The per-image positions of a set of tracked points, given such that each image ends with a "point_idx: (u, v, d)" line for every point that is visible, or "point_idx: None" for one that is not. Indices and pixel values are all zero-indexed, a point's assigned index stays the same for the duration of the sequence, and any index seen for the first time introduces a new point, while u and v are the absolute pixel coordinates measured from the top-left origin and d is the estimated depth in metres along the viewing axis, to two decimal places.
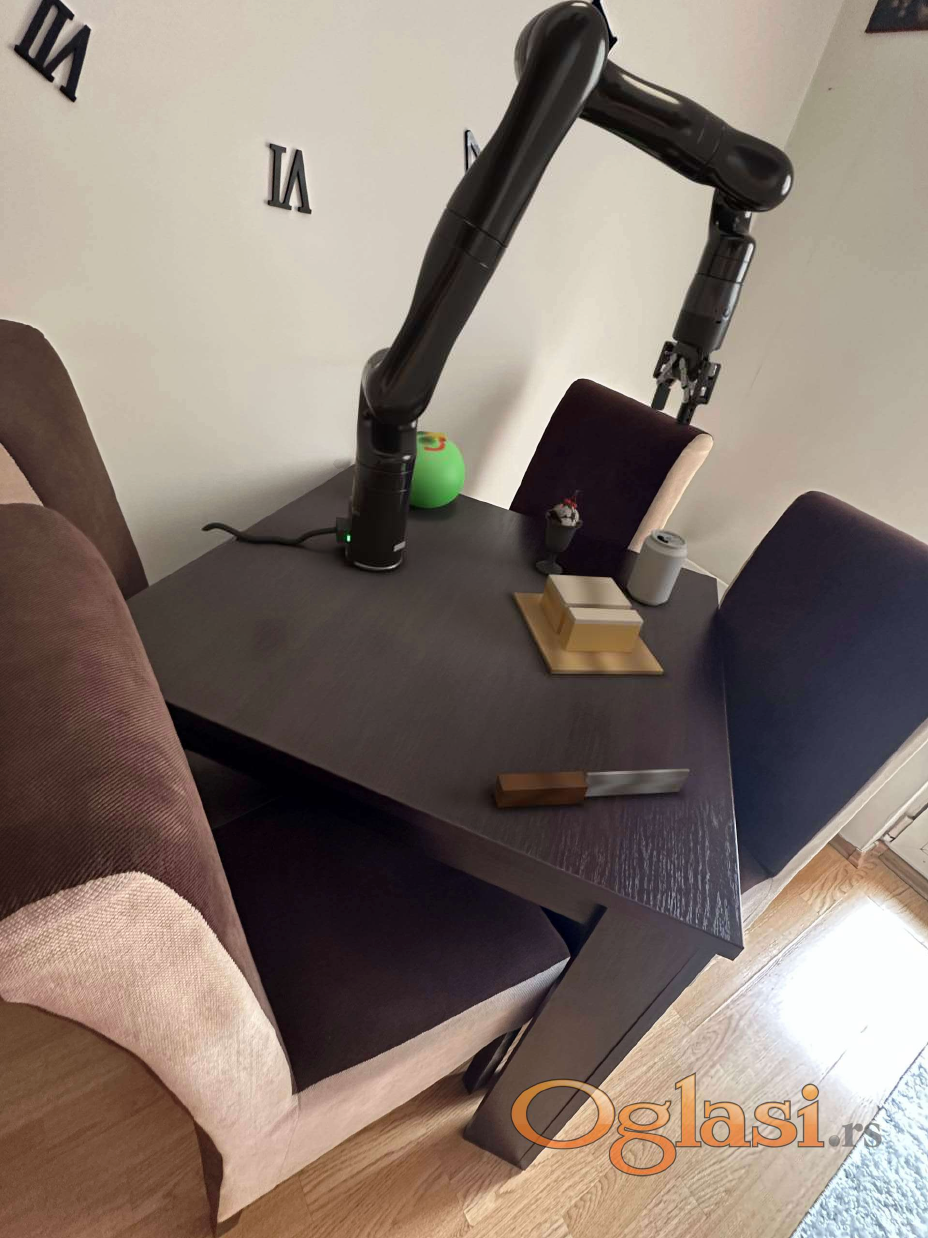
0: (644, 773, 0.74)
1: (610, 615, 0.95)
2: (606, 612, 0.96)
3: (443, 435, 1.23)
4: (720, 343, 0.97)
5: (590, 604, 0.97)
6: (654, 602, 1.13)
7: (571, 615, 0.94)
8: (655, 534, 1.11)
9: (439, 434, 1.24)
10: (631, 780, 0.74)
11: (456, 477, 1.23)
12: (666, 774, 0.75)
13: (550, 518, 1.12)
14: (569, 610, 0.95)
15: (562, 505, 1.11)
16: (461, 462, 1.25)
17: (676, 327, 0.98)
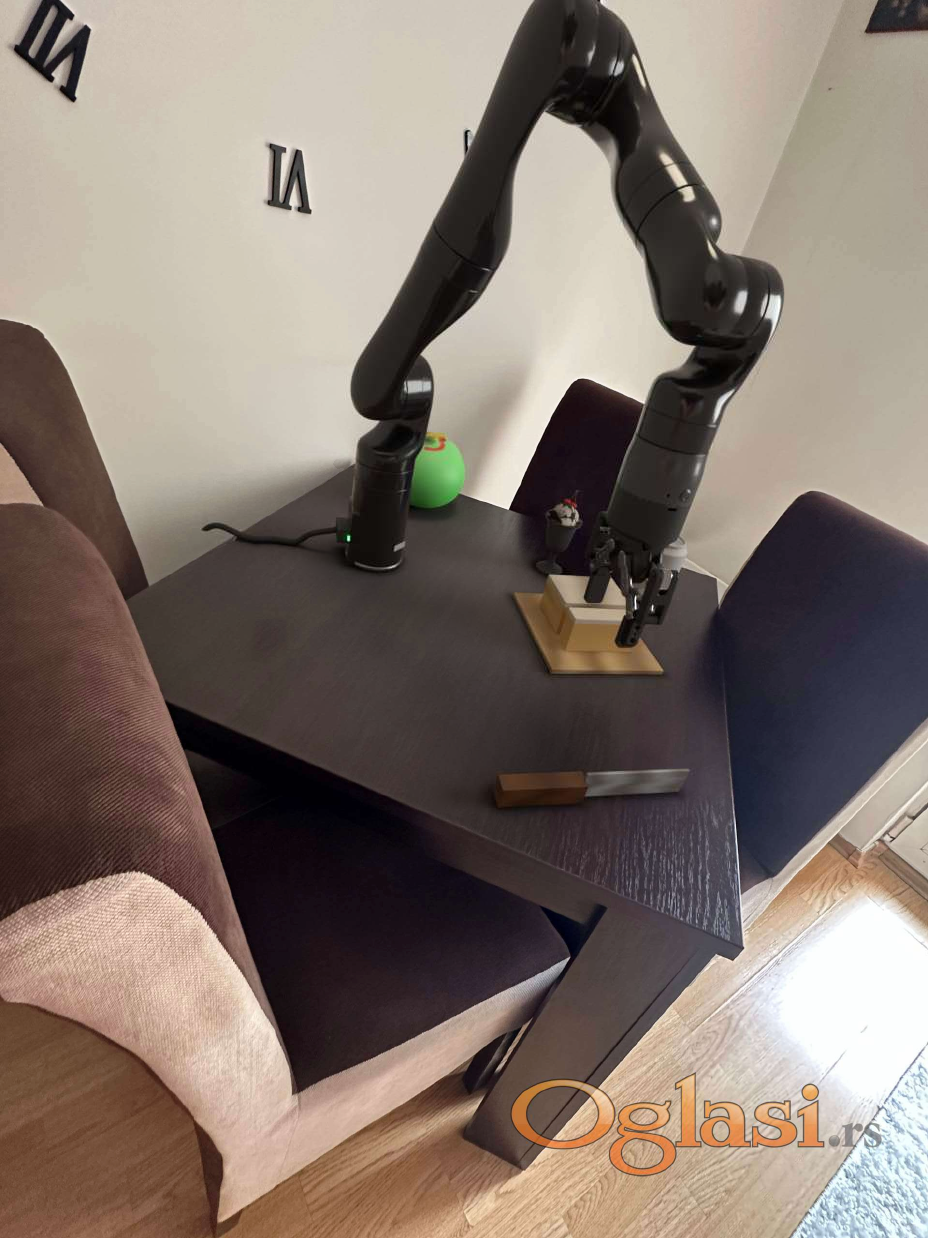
0: (644, 773, 0.74)
1: (610, 615, 0.95)
2: (606, 612, 0.96)
3: (443, 435, 1.23)
4: (678, 534, 0.63)
5: (590, 604, 0.97)
6: None
7: (571, 615, 0.94)
8: None
9: (439, 434, 1.24)
10: (631, 780, 0.74)
11: (456, 477, 1.23)
12: (666, 774, 0.75)
13: (550, 518, 1.12)
14: (569, 610, 0.95)
15: (562, 505, 1.11)
16: (461, 462, 1.25)
17: (610, 508, 0.64)
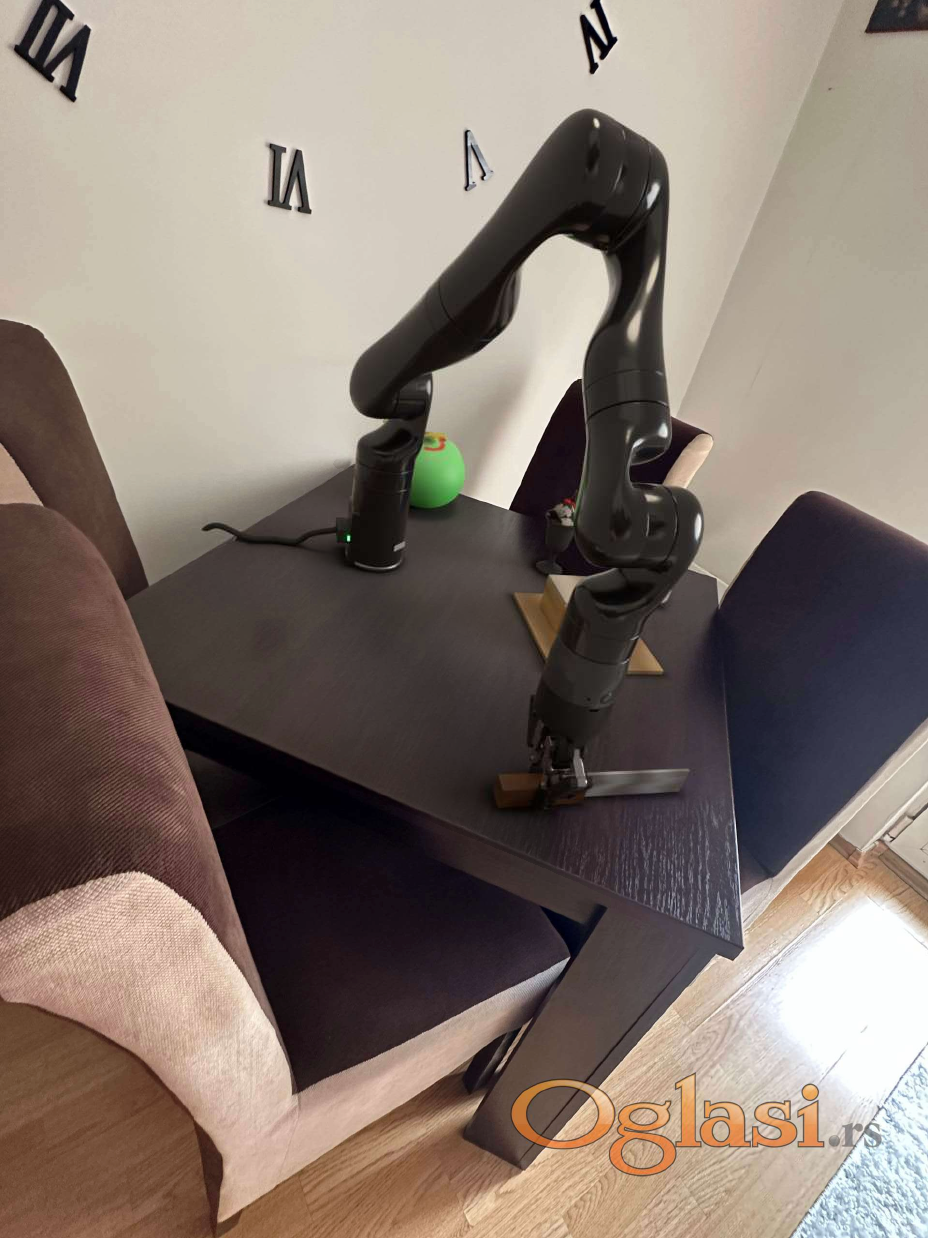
0: (644, 773, 0.74)
1: None
2: None
3: (443, 435, 1.23)
4: (602, 727, 0.63)
5: None
6: None
7: None
8: None
9: (439, 434, 1.24)
10: (631, 780, 0.74)
11: (456, 477, 1.23)
12: (666, 774, 0.75)
13: (550, 518, 1.12)
14: None
15: (562, 505, 1.11)
16: (461, 462, 1.25)
17: (537, 697, 0.64)
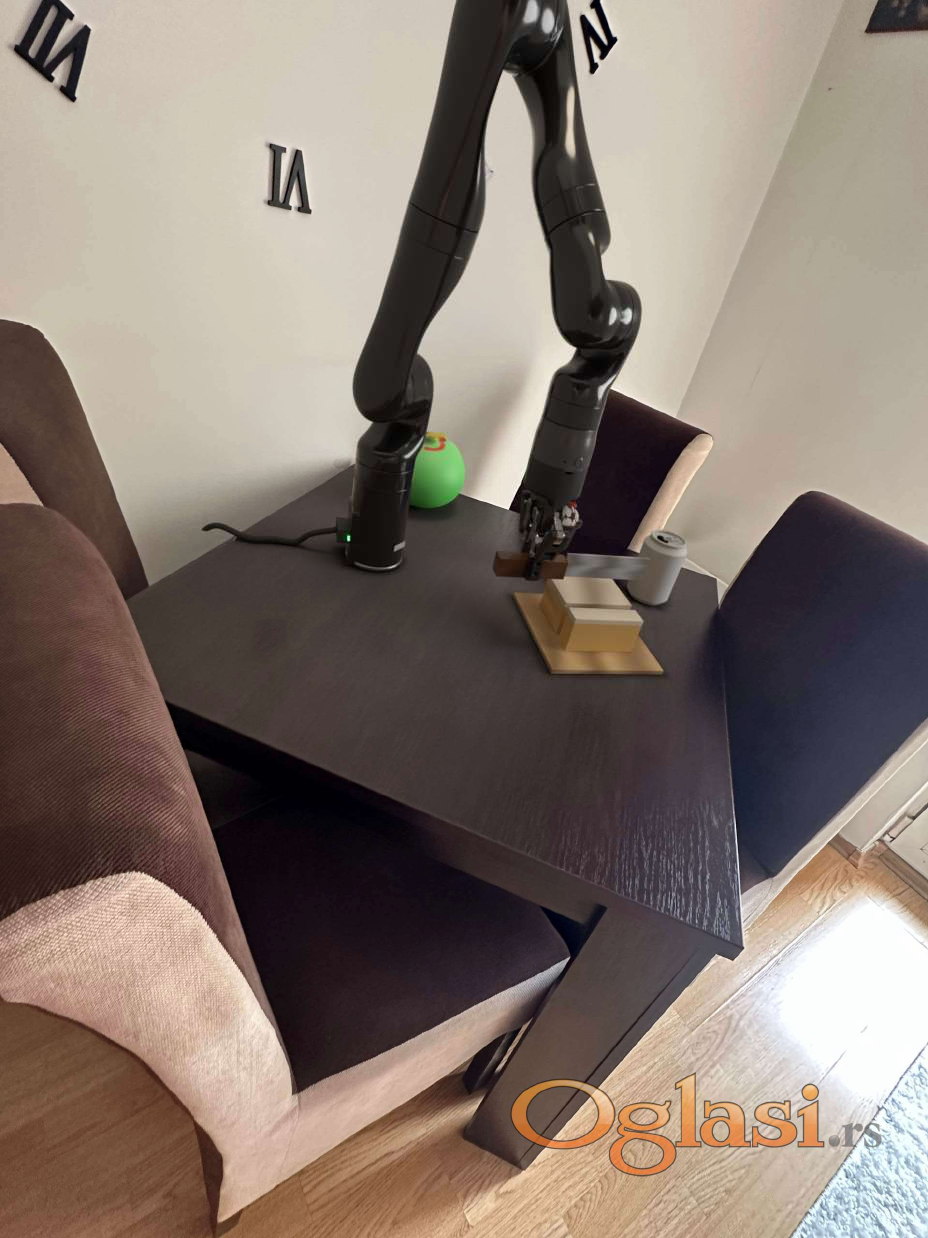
0: (613, 557, 0.92)
1: (610, 615, 0.95)
2: (606, 612, 0.96)
3: (443, 435, 1.23)
4: (576, 493, 0.81)
5: (590, 604, 0.97)
6: (654, 602, 1.13)
7: (571, 615, 0.94)
8: (655, 534, 1.11)
9: (439, 434, 1.24)
10: (603, 563, 0.92)
11: (456, 477, 1.23)
12: (631, 560, 0.93)
13: None
14: (569, 610, 0.95)
15: None
16: (461, 462, 1.25)
17: (526, 473, 0.82)
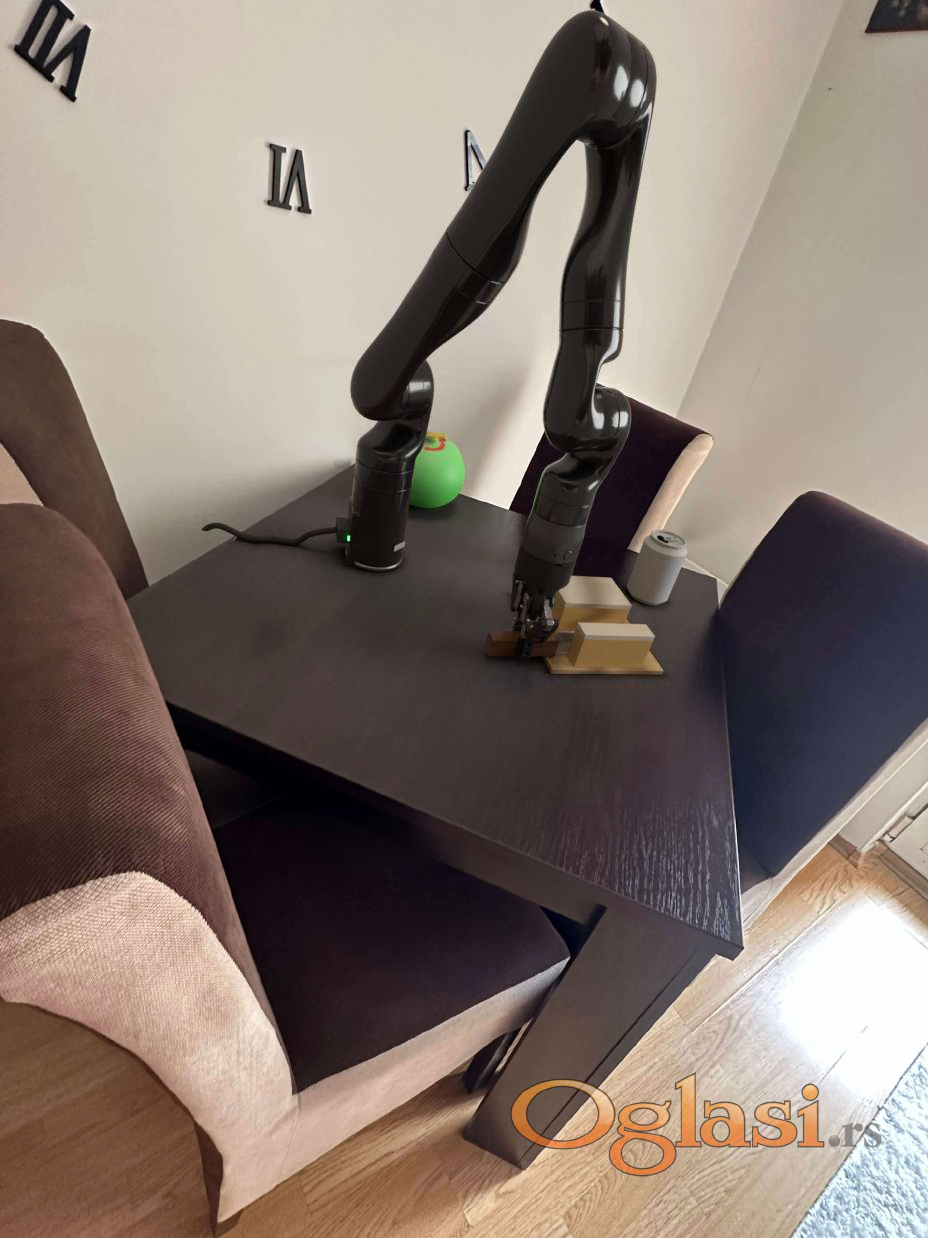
0: None
1: (620, 630, 0.92)
2: (616, 627, 0.93)
3: (443, 435, 1.23)
4: (566, 582, 0.84)
5: (590, 604, 0.97)
6: (654, 602, 1.13)
7: (580, 630, 0.91)
8: (655, 534, 1.11)
9: (439, 434, 1.24)
10: None
11: (456, 477, 1.23)
12: None
13: None
14: (578, 625, 0.92)
15: None
16: (461, 462, 1.25)
17: (516, 561, 0.85)
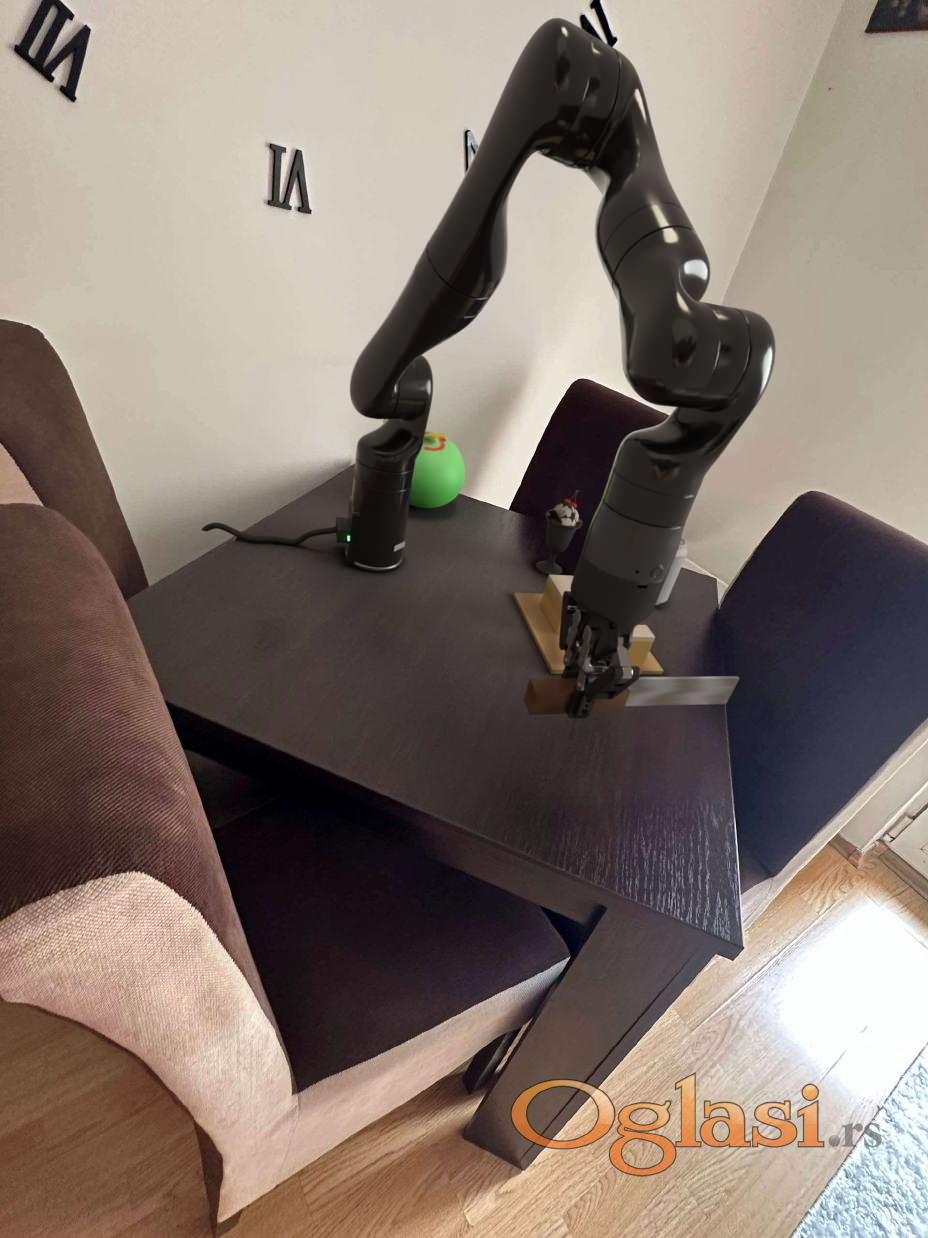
0: (690, 679, 0.67)
1: None
2: None
3: (443, 435, 1.23)
4: (650, 611, 0.56)
5: None
6: None
7: None
8: None
9: (439, 434, 1.24)
10: (676, 688, 0.67)
11: (456, 477, 1.23)
12: (714, 682, 0.68)
13: (550, 518, 1.12)
14: None
15: (562, 505, 1.11)
16: (461, 462, 1.25)
17: (575, 579, 0.57)
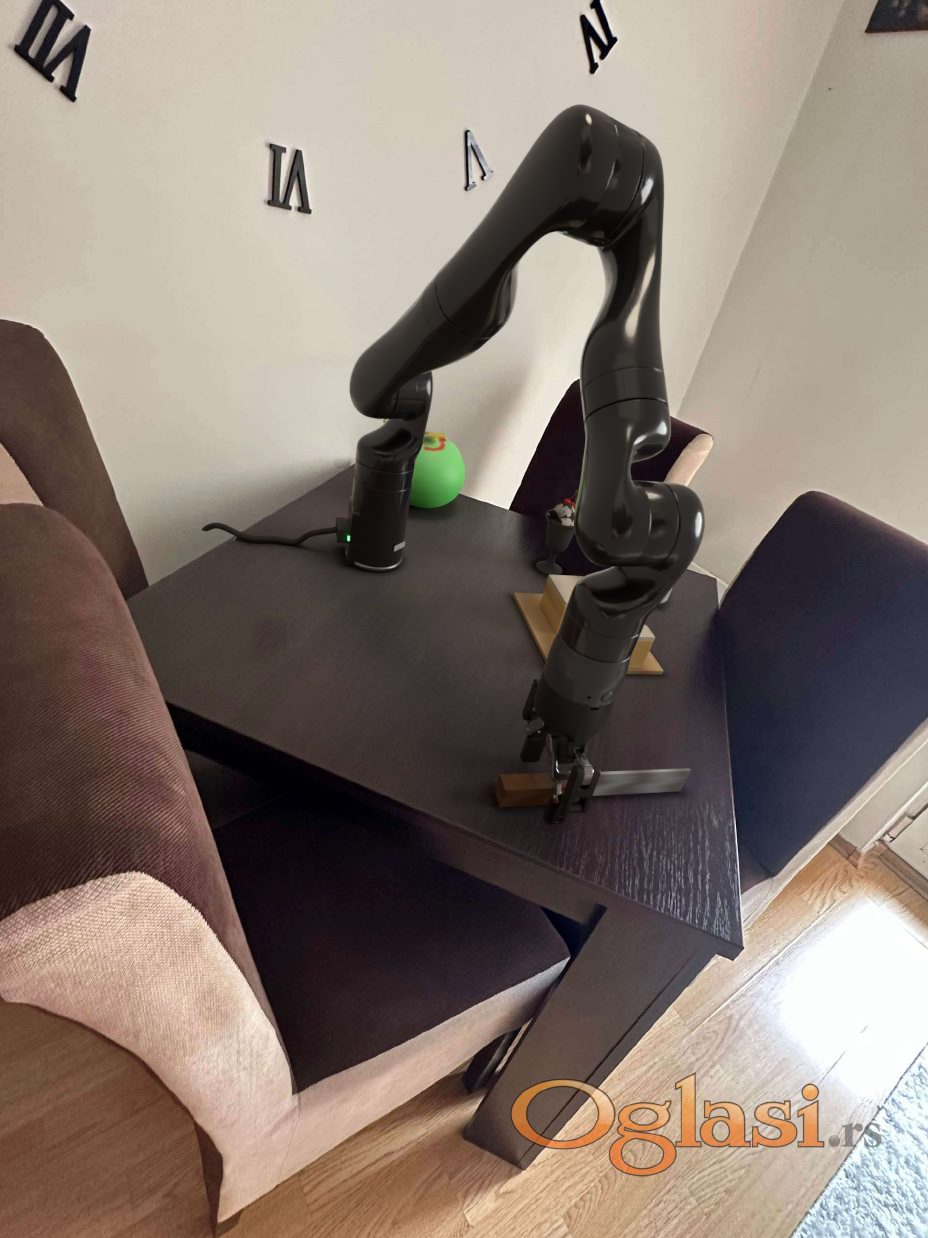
0: (646, 772, 0.74)
1: None
2: None
3: (443, 435, 1.23)
4: (603, 725, 0.63)
5: None
6: None
7: None
8: None
9: (439, 434, 1.24)
10: (633, 780, 0.74)
11: (456, 477, 1.23)
12: (668, 774, 0.75)
13: (550, 518, 1.12)
14: None
15: (562, 505, 1.11)
16: (461, 462, 1.25)
17: (537, 695, 0.64)
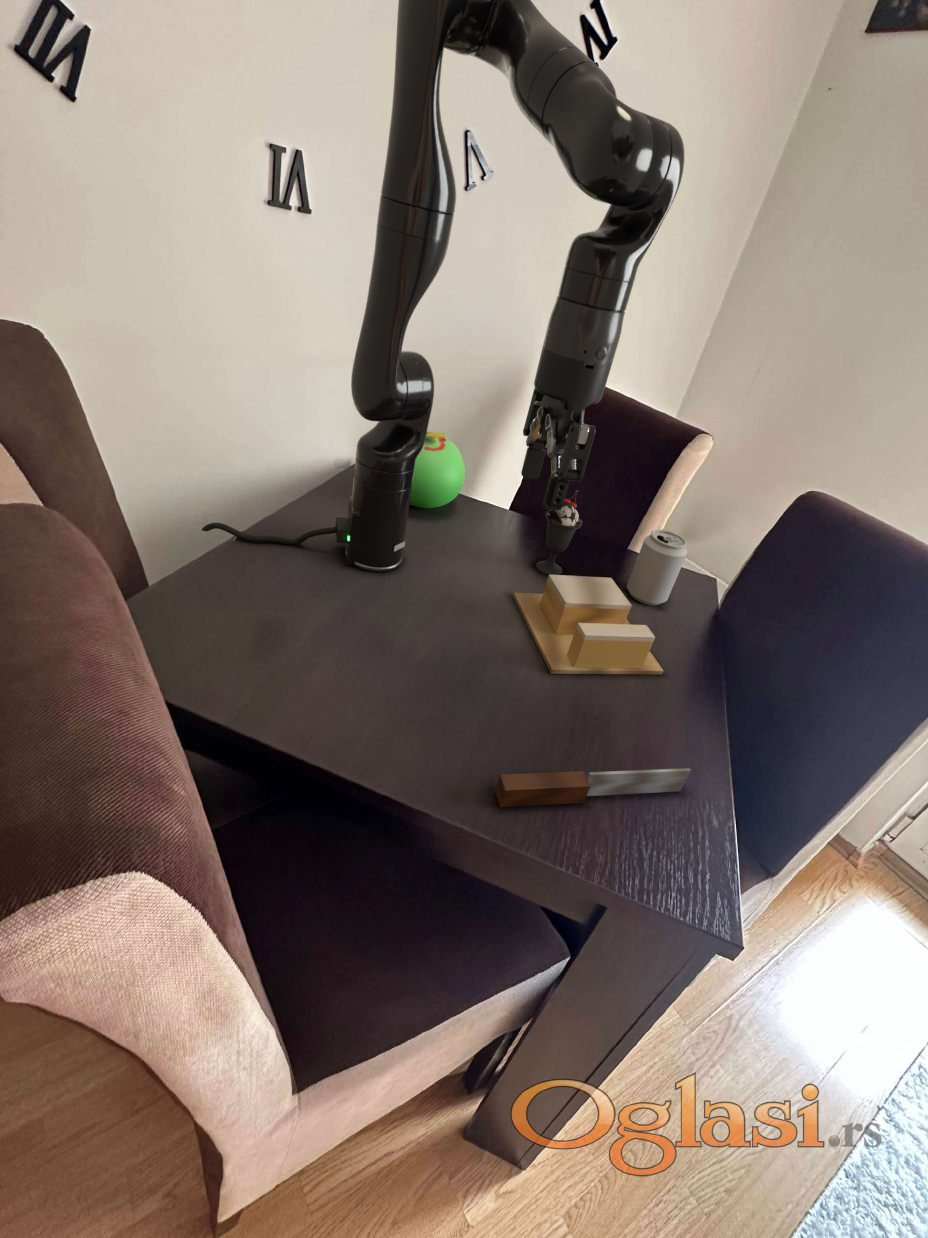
0: (646, 772, 0.74)
1: (620, 630, 0.92)
2: (616, 627, 0.93)
3: (443, 435, 1.23)
4: (598, 395, 0.68)
5: (590, 604, 0.97)
6: (654, 602, 1.13)
7: (580, 631, 0.91)
8: (655, 534, 1.11)
9: (439, 434, 1.24)
10: (633, 780, 0.74)
11: (456, 477, 1.23)
12: (668, 774, 0.75)
13: (550, 518, 1.12)
14: (578, 626, 0.92)
15: None
16: (461, 462, 1.25)
17: (537, 372, 0.69)
